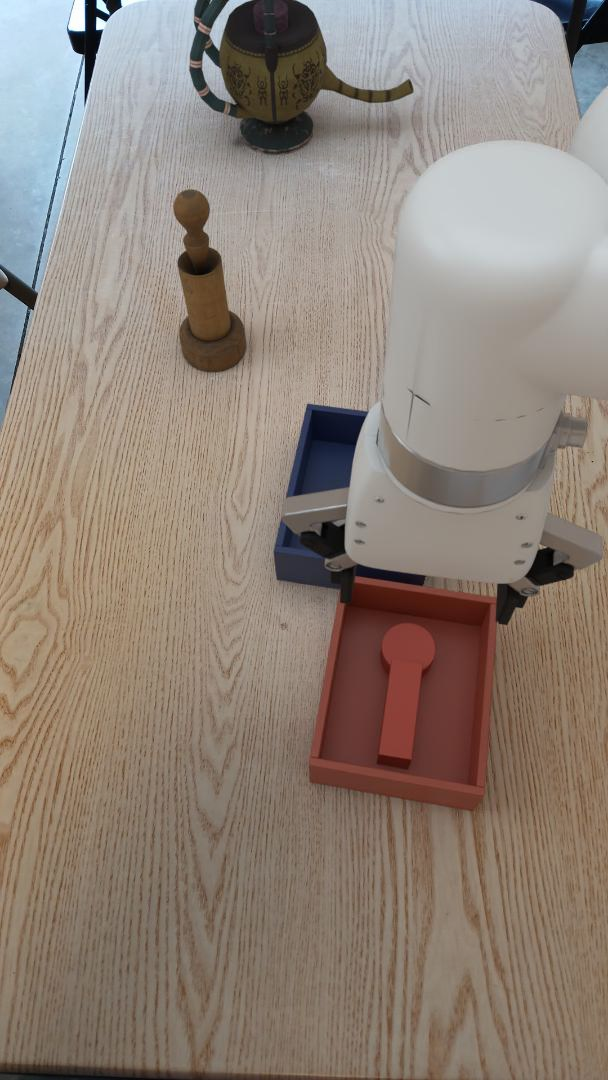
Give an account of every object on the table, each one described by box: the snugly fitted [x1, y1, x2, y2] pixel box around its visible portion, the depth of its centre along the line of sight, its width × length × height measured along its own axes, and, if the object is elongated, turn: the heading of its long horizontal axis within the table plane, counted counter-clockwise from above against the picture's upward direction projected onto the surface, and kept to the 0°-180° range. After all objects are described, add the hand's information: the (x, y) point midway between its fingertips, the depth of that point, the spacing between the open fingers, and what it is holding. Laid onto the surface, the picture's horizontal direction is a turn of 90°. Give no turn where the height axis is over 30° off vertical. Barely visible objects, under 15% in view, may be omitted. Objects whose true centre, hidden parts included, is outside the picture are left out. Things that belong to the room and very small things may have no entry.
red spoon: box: [377, 623, 436, 769], centre depth 64 cm, size 11×4×3 cm, turn 170°
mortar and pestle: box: [172, 188, 247, 373], centre depth 76 cm, size 7×6×18 cm
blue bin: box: [273, 403, 427, 590], centre depth 71 cm, size 15×12×5 cm
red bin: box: [308, 576, 498, 812], centre depth 63 cm, size 15×12×5 cm
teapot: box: [188, 0, 415, 156], centre depth 90 cm, size 12×25×23 cm, turn 91°
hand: (424, 592), depth 52 cm, fingers open, 9 cm apart
